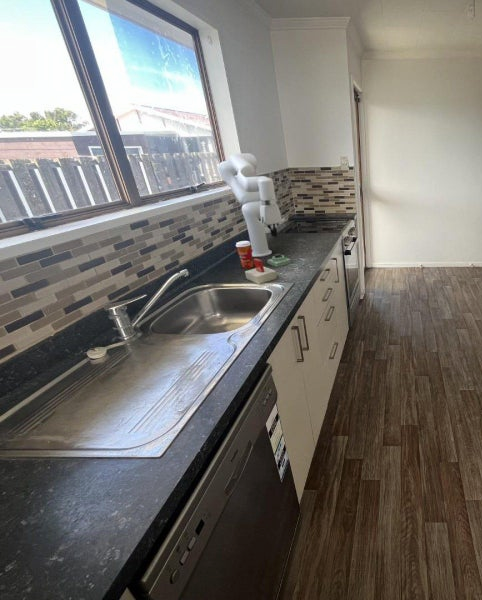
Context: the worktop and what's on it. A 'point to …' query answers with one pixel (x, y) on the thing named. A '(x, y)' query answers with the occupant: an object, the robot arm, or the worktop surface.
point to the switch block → (278, 261)
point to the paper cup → (245, 253)
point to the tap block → (261, 275)
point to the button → (278, 255)
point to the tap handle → (259, 265)
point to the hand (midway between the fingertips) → (274, 235)
